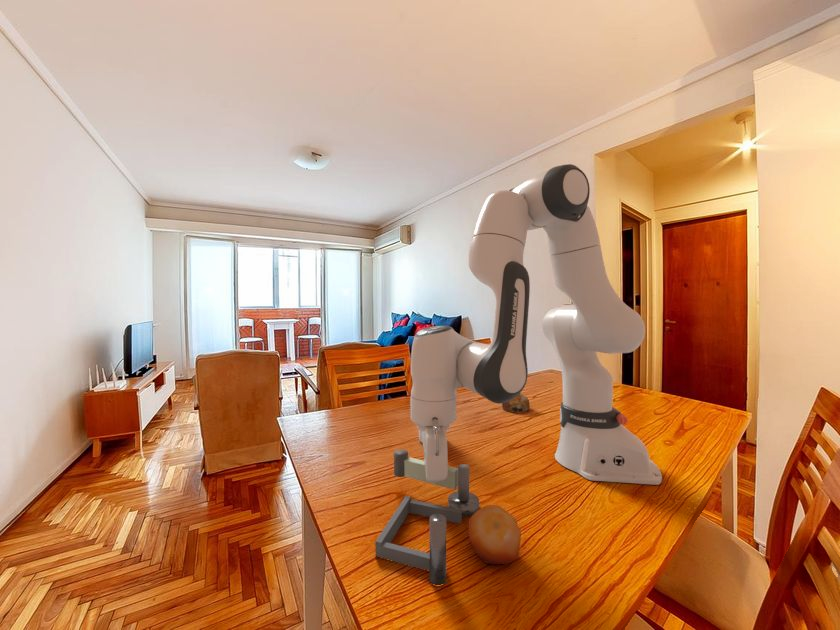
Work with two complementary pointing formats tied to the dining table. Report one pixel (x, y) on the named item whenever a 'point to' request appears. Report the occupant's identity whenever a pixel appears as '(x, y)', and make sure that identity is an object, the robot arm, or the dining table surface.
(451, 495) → the base
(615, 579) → the dining table surface
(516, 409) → the bread roll
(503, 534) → the fruit
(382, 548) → the gray frame
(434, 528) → the post
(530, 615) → the dining table surface
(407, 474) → the gate
